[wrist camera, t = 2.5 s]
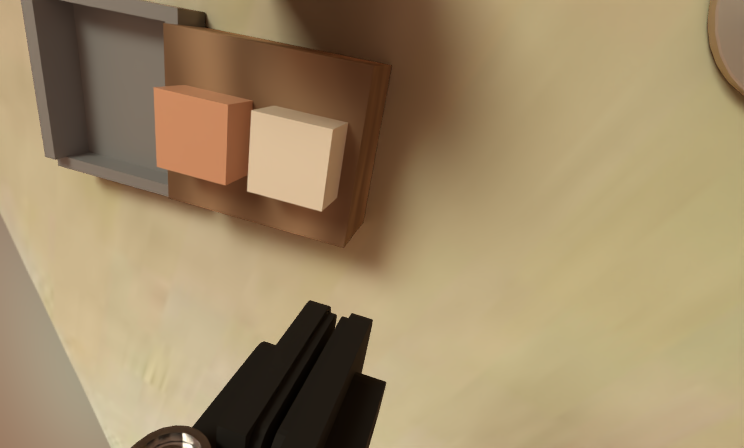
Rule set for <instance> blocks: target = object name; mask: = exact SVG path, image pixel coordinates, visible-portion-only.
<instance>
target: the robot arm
mask: <svg viewBox="0 0 744 448" xmlns="http://www.w3.org/2000/svg"><path fill="white" fill-rule="evenodd" d="M707 24H708V34H709V43H710V48H711V51H712V53H713V56H714V59H715V62H716V65H717V66H718V68H719V69H720V71H721V72H722V74H723V75H724V77H725V78H726V80H727V81H728V82H729V83H730V84H731V85H732V86H733V87H734V88H735V89H736V90H738V91H739V92H740V93H741V94H742V95H743V96H744V0H710V5H709V14H708V23H707ZM336 318H337V315H336V314H333V313H331V307H330V306H327V305H324V304H321V303H317V302H314V301H311V300H310V301H308V303H307V304H306V305H305V306H304V308H303V309H302V311H301V312H300V313H299V315H298V316H297V317H296V319H295V320H294V321H293V323H292V324H291V325H290V327H289V328H288V329H287V331H286V332H285V334H284V335H283V336H282V338H281V339H280V340H279V342H278V343H277V344H276V345H274V344H271V343H268V342H265V341H264V342H261V343H260V344H259V345H258V346H257V347H256V348H255V350H254V351H253V352H252V353H251V355H250V356H249V357H248V358H247V360H246V361H245V362H244V363H243V365H242V366H241V367H240V368H239V370H238V371H237V372H236V373H235V375H234V376H233V377H232V378H231V380H230V381H229V382H228V383H227V385H226V386H225V387H224V388H223V390H222V391H221V392H220V393H219V395H218V396H217V397H216V398H215V400H214V401H213V402H212V403H211V405H210V406H209V407H208V408H207V409H206V411H205V412H204V413H203V414H202V416H201V417H200V418H199V419H198V421H197V422H196V423H195V424H194V426H193V427H189V426H177V425H175V426H170V427H165V428H161V429H159V430H156V431H154V432H152V433H149V434H148V435H147V436H145V437H144V438H142V439H141V440H139V441H138V442H137V443H136V444H135V445H133V446H132V447H131V448H369V445H370V441H371V438H372V434H373V431H374V428H375V424H376V420H377V417H378V413H379V409H380V406H381V402H382V398H383V394H384V390H385V386H386V382H385V381H382V380H379V379H376V378H373V377H370V376H367V375H364V374H361V373H362V369H363V364H364V360H365V355H366V350H367V346H368V341H369V337H370V332H371V327H372V322H373V320H372V319H369V318H366V317H363V316H359V315H356V314H353V313H352V314H351V315H350V317H349V318H346V317H343V316H342V317H341V319H340V321H339V322H338V324H337V326H336V328H335V324H336Z"/></svg>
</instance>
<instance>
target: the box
mask: <svg viewBox="0 0 744 448" xmlns="http://www.w3.org/2000/svg"><path fill="white" fill-rule="evenodd" d="M21 5H22V11H23V18H24V24H25V30H26V37H27V43H28V50H29V56H30V62H31V69H32V75H33V81H34V88H35V94H36V101H37V107H38V113H39V120H40V126H41V133H42V139H43V145H44V152H45V157H48V158H51V159H55V160H56V159H58V166H62V167H65V168H69V169H72V170H76V171H79V172H83V173H86V174H90V175H93V176H97V177H100V178H104V179H107V180H111V181H114V182H118V183H121V184H125V185H128V186H132V187H135V188H139V189H142V190H146V191H149V192H153V193H156V194H160V195H163V196H167V197H168V170H167V169H163V168H159V167H157V159H156V135H155V111H154V88H153V87H163V86H165V68H164V35H163V23H169V24H177V25H185V26H193V27H201V28H205V12H200V11H194V10H189V9H184V8H179V7H174V6H169V5H164V4H159V3H154V2H148V1H143V0H21Z"/></svg>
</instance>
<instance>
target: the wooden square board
mask: <svg viewBox="0 0 744 448" xmlns="http://www.w3.org/2000/svg"><path fill="white" fill-rule="evenodd" d="M163 35H164V68H165V86H177V85H187V86H191V87H196V88H200V89H204V90H209V91H213V92H218V93H222V94H226V95H231V96H235V97H239V98H244V99H248V100H252V101H253V107H252V110H255V109H260V108H265V107H270V106H278V107H283V108H287V109H291V110H296V111H300V112H304V113H309V114H313V115H317V116H322V117H326V118H330V119H335V120H339V121H343V122H348V128H347V135H346V142H345V148H344V155H343V162H342V168H341V175H340V182H339V188H338V195H337V198H336V199H335V200H334V201H333V202H332V203H331V204H330V205H329V206H327V207H326V208H325V209H324V210H323V211H322V212H321V211H317V210H314V209H310V208H306V207H303V206H299V205H295V204H292V203H288V202H284V201H281V200H277V199H273V198H270V197H266V196H262V195H259V194H255V193H251V192H248V191H247V182H248V175H247V176H245V177H242V178H240V179H238V180H236V181H234V182H232V183H230V184H228V185H222V184H218V183H215V182H211V181H207V180H203V179H200V178H196V177H192V176H189V175H185V174H181V173H178V172H174V171H170V170H168V197H169V198H170V199H174V200H177V201H181V202H184V203H188V204H191V205H195V206H199V207H202V208H206V209H209V210H213V211H216V212H220V213H223V214H227V215H230V216H234V217H237V218H241V219H244V220H248V221H251V222H255V223H258V224H262V225H265V226H269V227H272V228H276V229H279V230H283V231H286V232H290V233H293V234H297V235H300V236H304V237H307V238H311V239H314V240H318V241H321V242H325V243H328V244H332V245H335V246H339V247H342V248H344V247H345V245H346V244H347V243H348V241H349V240H350V239H351V238H352V236H353V235H354V234H355V232H356V231H357V230H358V229H359V227H360V226H361V225H362V223H363V221H364V215H365V210H366V204H367V199H368V193H369V188H370V182H371V177H372V172H373V166H374V161H375V155H376V150H377V144H378V139H379V133H380V128H381V122H382V117H383V111H384V106H385V100H386V95H387V90H388V84H389V79H390V73H391V68H392V65H388V64H383V63H379V62H374V61H369V60H364V59H359V58H354V57H349V56H344V55H339V54H334V53H329V52H324V51H319V50H314V49H309V48H304V47H299V46H294V45H289V44H285V43H280V42H275V41H270V40H265V39H260V38H255V37H250V36H245V35H240V34H235V33H230V32H225V31H220V30H215V29H210V28H201V27H193V26H185V25H177V24H169V23H163Z"/></svg>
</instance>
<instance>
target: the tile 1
mask: <svg viewBox="0 0 744 448" xmlns="http://www.w3.org/2000/svg"><path fill="white" fill-rule="evenodd" d="M153 88H154V111H155V135H156V159H157V167H159V168H163V169H167V170H170V171H174V172H178V173H181V174H185V175H189V176H192V177H196V178H200V179H203V180H207V181H211V182H215V183H218V184H222V185H228V184H230V183H232V182H234V181H236V180H238V179H240V178H242V177H245V176H247V175H248V163H249V144H250V126H251V110H252V107H253V101H252V100H248V99H244V98H239V97H235V96H231V95H226V94H222V93H218V92H213V91H209V90H204V89H200V88H196V87H191V86H187V85H177V86H163V87H153Z"/></svg>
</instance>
